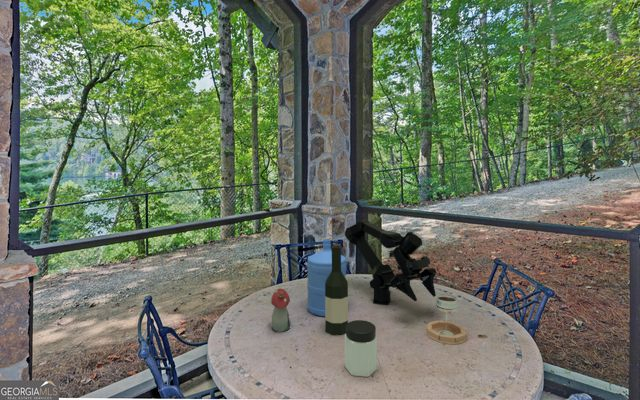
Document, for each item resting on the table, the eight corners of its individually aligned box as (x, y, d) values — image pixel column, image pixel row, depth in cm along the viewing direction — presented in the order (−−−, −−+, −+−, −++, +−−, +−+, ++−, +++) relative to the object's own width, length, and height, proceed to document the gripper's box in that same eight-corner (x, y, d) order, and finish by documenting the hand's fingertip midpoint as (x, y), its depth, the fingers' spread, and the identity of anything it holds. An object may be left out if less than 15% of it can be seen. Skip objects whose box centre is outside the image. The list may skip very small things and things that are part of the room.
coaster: (425, 341, 105) (425, 335, 105) (425, 323, 118) (425, 318, 117) (469, 347, 101) (469, 340, 101) (464, 328, 114) (464, 322, 114)
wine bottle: (351, 326, 115) (351, 243, 113) (343, 337, 108) (343, 248, 106) (330, 322, 119) (329, 241, 117) (320, 332, 111) (320, 246, 109)
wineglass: (459, 338, 106) (459, 302, 105) (437, 336, 107) (437, 301, 106) (454, 328, 112) (455, 294, 111) (434, 327, 114) (434, 293, 113)
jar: (357, 356, 97) (357, 316, 96) (381, 366, 92) (381, 324, 91) (339, 369, 90) (339, 327, 89) (364, 381, 85) (364, 337, 84)
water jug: (301, 313, 127) (300, 242, 125) (316, 299, 141) (316, 235, 139) (339, 320, 121) (339, 245, 119) (351, 304, 135) (351, 237, 133)
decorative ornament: (286, 334, 110) (286, 291, 109) (268, 333, 111) (267, 290, 110) (292, 322, 119) (292, 282, 118) (275, 321, 120) (274, 281, 119)
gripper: (396, 252, 116) (418, 292, 107) (433, 246, 125) (457, 283, 116) (381, 268, 123) (401, 307, 115) (418, 262, 132) (439, 297, 124)
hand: (425, 298), depth 117 cm, fingers open, 9 cm apart
